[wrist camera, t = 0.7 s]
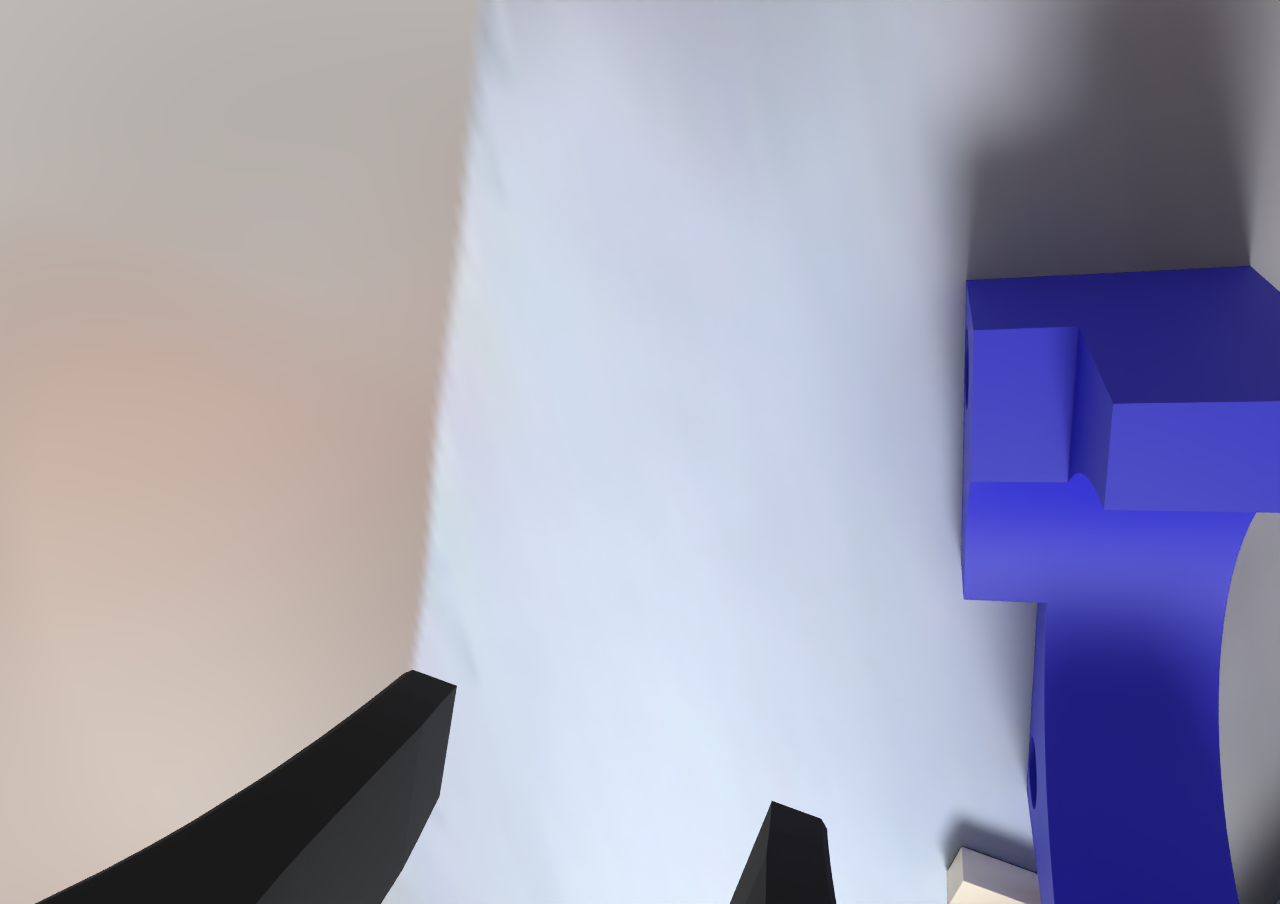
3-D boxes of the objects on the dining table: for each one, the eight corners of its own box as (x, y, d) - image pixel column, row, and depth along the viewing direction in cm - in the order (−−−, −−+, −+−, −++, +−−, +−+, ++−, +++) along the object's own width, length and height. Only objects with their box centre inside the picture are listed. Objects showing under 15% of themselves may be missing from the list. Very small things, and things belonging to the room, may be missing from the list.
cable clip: (965, 277, 17) (984, 405, 12) (1247, 262, 16) (1401, 399, 11) (957, 777, 22) (968, 1019, 17) (1171, 797, 21) (1253, 1065, 16)
